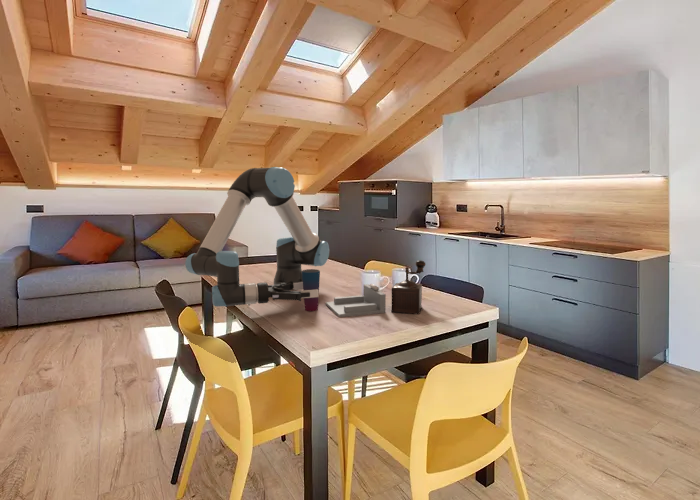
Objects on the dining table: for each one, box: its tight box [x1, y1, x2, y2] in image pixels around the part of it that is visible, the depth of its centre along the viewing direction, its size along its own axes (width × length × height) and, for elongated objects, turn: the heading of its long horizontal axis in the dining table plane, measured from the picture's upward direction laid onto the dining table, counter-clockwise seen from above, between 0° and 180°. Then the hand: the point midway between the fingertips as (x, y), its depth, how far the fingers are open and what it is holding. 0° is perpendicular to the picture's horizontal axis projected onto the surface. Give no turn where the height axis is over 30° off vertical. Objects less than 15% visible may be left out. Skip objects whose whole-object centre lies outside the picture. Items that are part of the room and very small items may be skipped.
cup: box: [302, 268, 321, 312], centre depth 158 cm, size 7×7×15 cm
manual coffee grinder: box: [391, 259, 426, 315], centre depth 160 cm, size 16×11×18 cm
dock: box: [325, 283, 387, 318], centre depth 160 cm, size 18×18×9 cm
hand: (314, 289), depth 158 cm, fingers open, 13 cm apart
